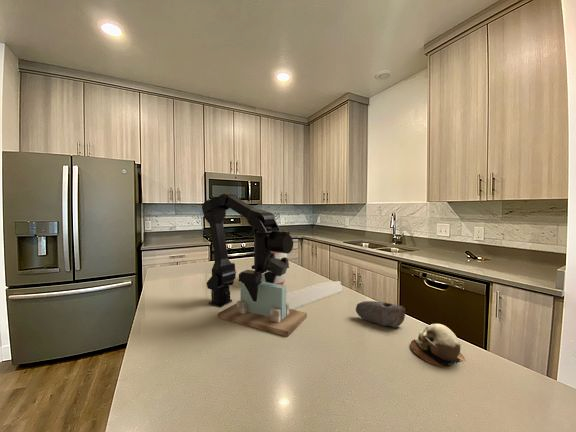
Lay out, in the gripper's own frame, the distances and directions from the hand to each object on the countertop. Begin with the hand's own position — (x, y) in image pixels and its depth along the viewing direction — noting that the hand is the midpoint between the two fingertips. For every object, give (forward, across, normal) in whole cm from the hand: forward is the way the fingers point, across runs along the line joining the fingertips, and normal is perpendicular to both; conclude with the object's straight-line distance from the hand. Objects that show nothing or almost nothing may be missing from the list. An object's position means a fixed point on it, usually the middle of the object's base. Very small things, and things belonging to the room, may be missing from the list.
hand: (262, 296), depth 81 cm
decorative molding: (+8, +23, -6) cm, 25 cm away
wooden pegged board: (+7, 0, 0) cm, 7 cm away
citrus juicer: (+7, +31, +16) cm, 36 cm away
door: (+6, 0, 0) cm, 6 cm away
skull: (+7, +4, -50) cm, 51 cm away
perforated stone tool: (+7, +14, -35) cm, 38 cm away
